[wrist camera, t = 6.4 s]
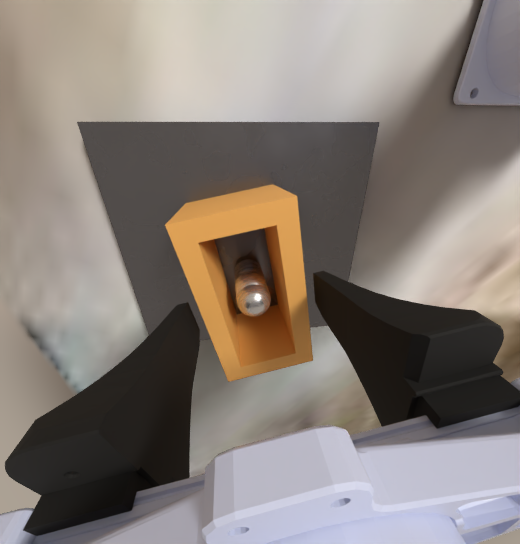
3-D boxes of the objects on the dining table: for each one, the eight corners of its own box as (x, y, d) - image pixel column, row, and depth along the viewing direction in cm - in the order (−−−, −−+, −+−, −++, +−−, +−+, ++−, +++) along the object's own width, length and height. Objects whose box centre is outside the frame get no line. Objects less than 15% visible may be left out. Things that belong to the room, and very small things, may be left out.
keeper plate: (369, 124, 13) (451, 103, 8) (334, 316, 20) (369, 366, 15) (88, 124, 11) (-13, 98, 7) (156, 336, 18) (131, 399, 13)
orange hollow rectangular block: (272, 184, 13) (297, 195, 9) (291, 311, 18) (313, 360, 13) (185, 203, 13) (164, 224, 8) (227, 326, 18) (228, 381, 13)
